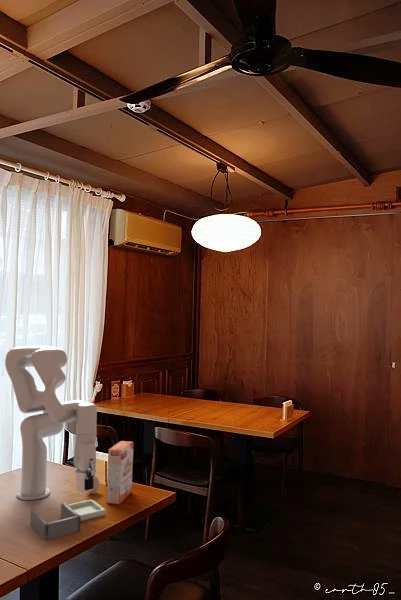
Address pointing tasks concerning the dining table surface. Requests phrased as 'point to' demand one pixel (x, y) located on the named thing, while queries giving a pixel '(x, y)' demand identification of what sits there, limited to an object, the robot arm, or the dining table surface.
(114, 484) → the cracker box
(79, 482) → the white cylinder
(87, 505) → the tray
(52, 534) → the bay
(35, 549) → the dining table surface
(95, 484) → the egg
